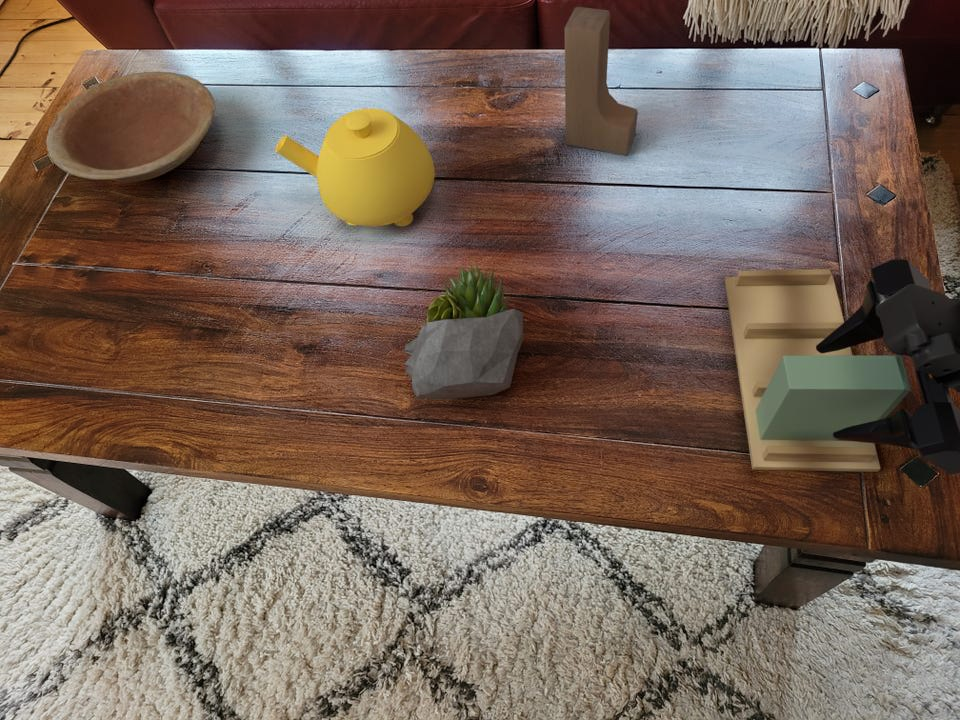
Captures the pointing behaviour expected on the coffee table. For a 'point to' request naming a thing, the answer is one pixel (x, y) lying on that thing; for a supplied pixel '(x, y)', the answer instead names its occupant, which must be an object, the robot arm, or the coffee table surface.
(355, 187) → the teapot
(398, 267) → the coffee table surface
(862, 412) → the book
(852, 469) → the rack
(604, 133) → the wooden block
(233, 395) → the coffee table surface
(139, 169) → the bowl
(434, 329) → the potted plant
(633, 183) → the coffee table surface
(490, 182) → the coffee table surface
